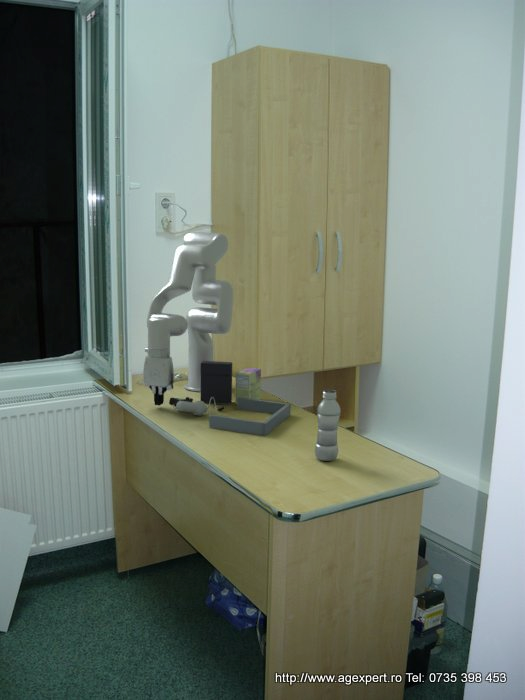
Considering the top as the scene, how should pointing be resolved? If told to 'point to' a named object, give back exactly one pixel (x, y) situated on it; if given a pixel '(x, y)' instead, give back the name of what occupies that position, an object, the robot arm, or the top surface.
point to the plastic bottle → (327, 427)
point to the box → (248, 384)
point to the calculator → (216, 382)
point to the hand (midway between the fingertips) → (158, 404)
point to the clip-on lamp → (191, 405)
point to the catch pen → (249, 426)
